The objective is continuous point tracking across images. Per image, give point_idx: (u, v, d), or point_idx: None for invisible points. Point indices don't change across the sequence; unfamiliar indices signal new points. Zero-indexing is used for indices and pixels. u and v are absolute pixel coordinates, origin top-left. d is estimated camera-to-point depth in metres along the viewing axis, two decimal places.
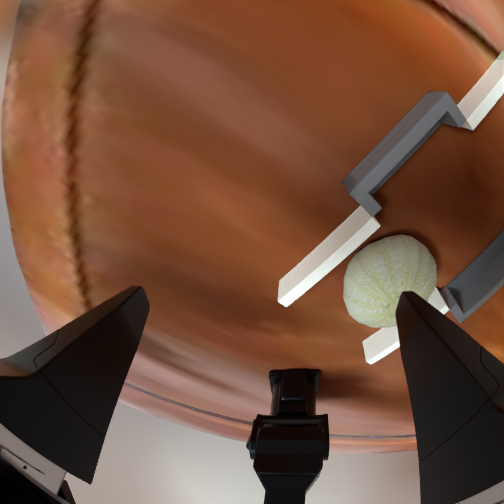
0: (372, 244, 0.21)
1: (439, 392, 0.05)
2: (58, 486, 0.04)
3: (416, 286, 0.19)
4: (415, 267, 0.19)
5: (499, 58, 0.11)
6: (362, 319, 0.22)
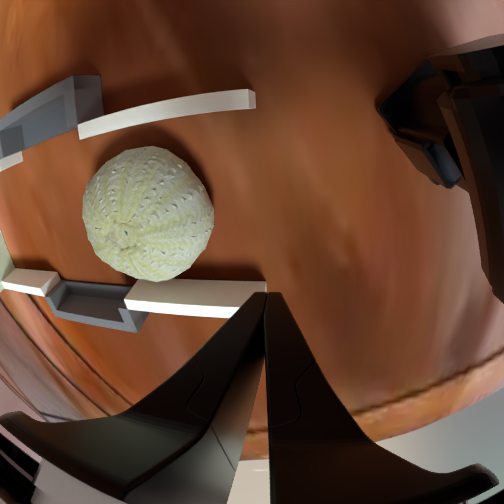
0: None
1: None
2: None
3: (98, 241, 0.15)
4: (97, 255, 0.16)
5: None
6: (182, 239, 0.15)
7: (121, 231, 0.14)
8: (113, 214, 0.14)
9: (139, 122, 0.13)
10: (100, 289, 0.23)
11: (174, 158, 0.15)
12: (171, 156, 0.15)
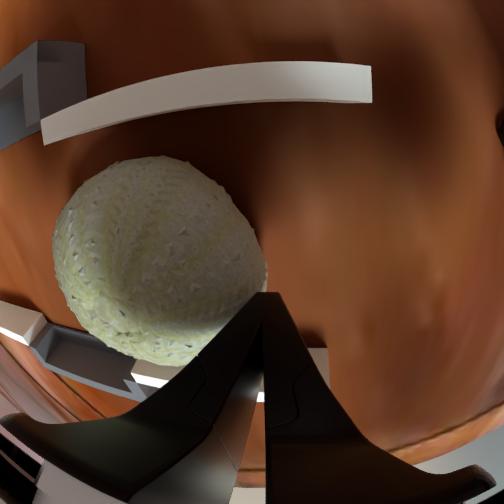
0: None
1: None
2: None
3: (79, 314, 0.09)
4: (83, 326, 0.10)
5: None
6: (222, 327, 0.09)
7: (115, 309, 0.08)
8: (97, 283, 0.08)
9: (145, 112, 0.06)
10: (97, 341, 0.17)
11: (203, 180, 0.09)
12: (197, 176, 0.09)
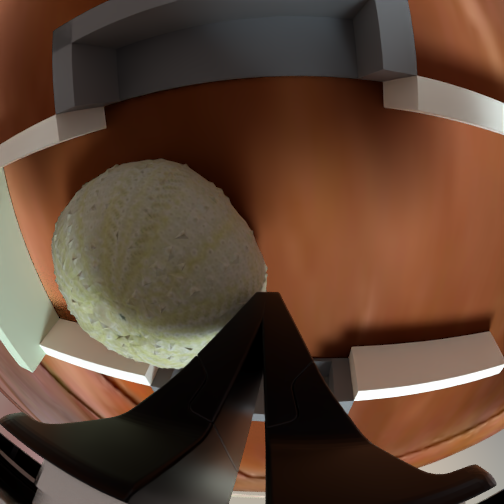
0: None
1: None
2: None
3: (80, 318, 0.09)
4: None
5: None
6: None
7: (115, 313, 0.08)
8: (97, 286, 0.08)
9: None
10: None
11: (201, 183, 0.09)
12: (196, 179, 0.09)
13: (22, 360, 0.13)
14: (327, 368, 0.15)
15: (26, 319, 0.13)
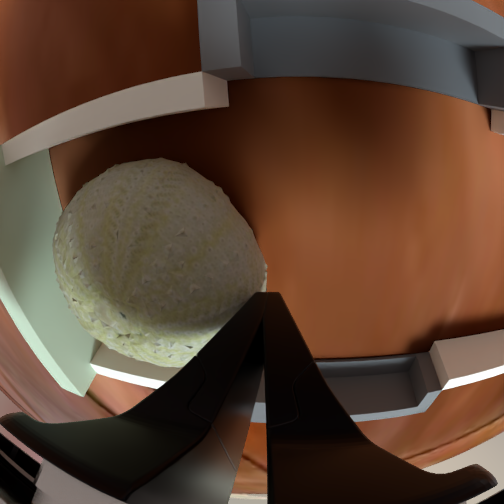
0: None
1: None
2: None
3: (80, 317, 0.09)
4: (84, 329, 0.10)
5: None
6: None
7: (115, 311, 0.08)
8: (98, 285, 0.08)
9: None
10: (354, 366, 0.14)
11: (201, 182, 0.09)
12: (195, 178, 0.09)
13: (71, 384, 0.12)
14: (410, 363, 0.14)
15: (75, 335, 0.13)
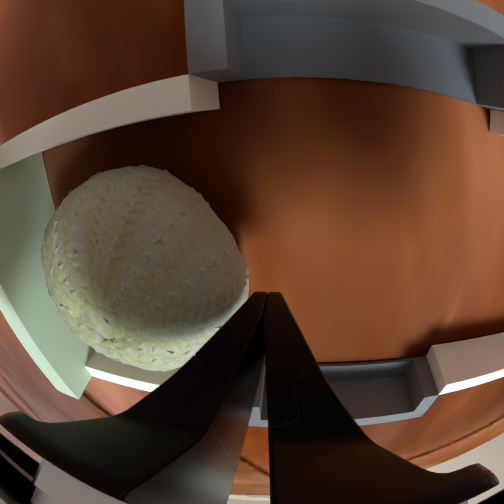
0: None
1: None
2: None
3: (68, 322, 0.09)
4: (73, 332, 0.10)
5: None
6: (201, 334, 0.09)
7: (99, 317, 0.08)
8: (81, 291, 0.08)
9: None
10: (349, 370, 0.14)
11: (179, 189, 0.08)
12: (174, 185, 0.09)
13: (66, 386, 0.12)
14: (407, 367, 0.14)
15: (70, 338, 0.12)
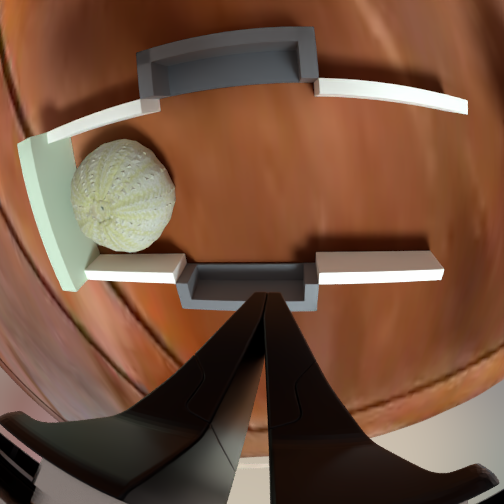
0: None
1: None
2: None
3: (81, 218, 0.18)
4: (82, 230, 0.19)
5: None
6: (146, 211, 0.17)
7: (99, 207, 0.17)
8: (92, 193, 0.17)
9: (393, 98, 0.13)
10: (254, 269, 0.23)
11: (140, 147, 0.17)
12: (138, 146, 0.17)
13: (70, 280, 0.20)
14: (301, 271, 0.23)
15: (77, 248, 0.21)
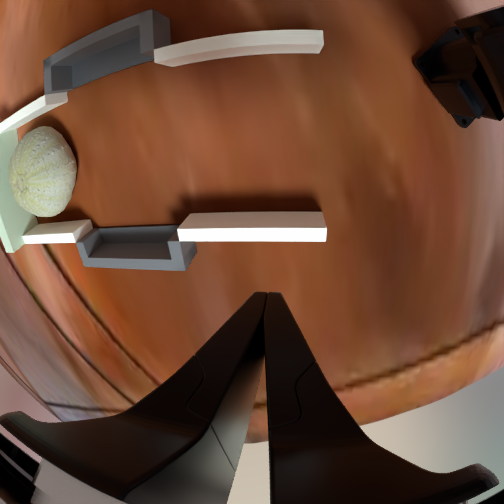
0: None
1: None
2: None
3: (12, 189, 0.18)
4: (15, 200, 0.19)
5: None
6: (47, 180, 0.18)
7: (20, 179, 0.17)
8: (17, 169, 0.17)
9: (223, 47, 0.13)
10: (141, 232, 0.23)
11: (50, 131, 0.18)
12: (49, 130, 0.18)
13: (9, 242, 0.21)
14: None
15: (17, 217, 0.22)
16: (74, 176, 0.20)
